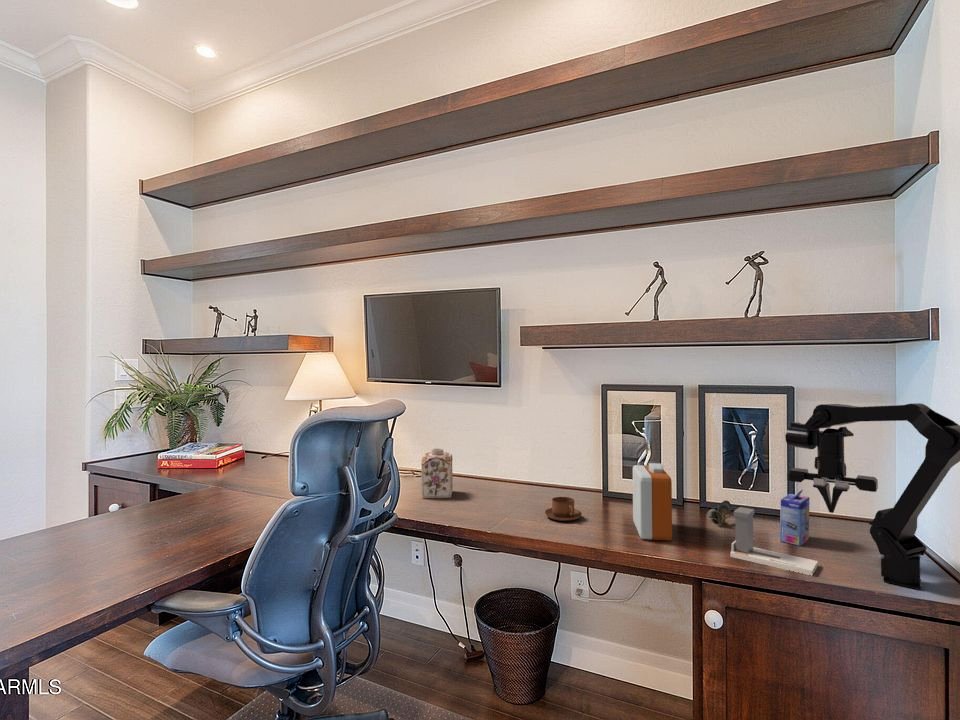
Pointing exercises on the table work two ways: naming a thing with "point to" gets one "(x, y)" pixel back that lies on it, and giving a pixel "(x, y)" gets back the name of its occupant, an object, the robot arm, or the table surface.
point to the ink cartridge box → (794, 519)
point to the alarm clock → (652, 502)
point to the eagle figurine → (721, 512)
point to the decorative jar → (436, 474)
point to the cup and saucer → (563, 509)
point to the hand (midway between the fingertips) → (831, 512)
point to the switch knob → (744, 529)
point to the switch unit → (776, 560)
